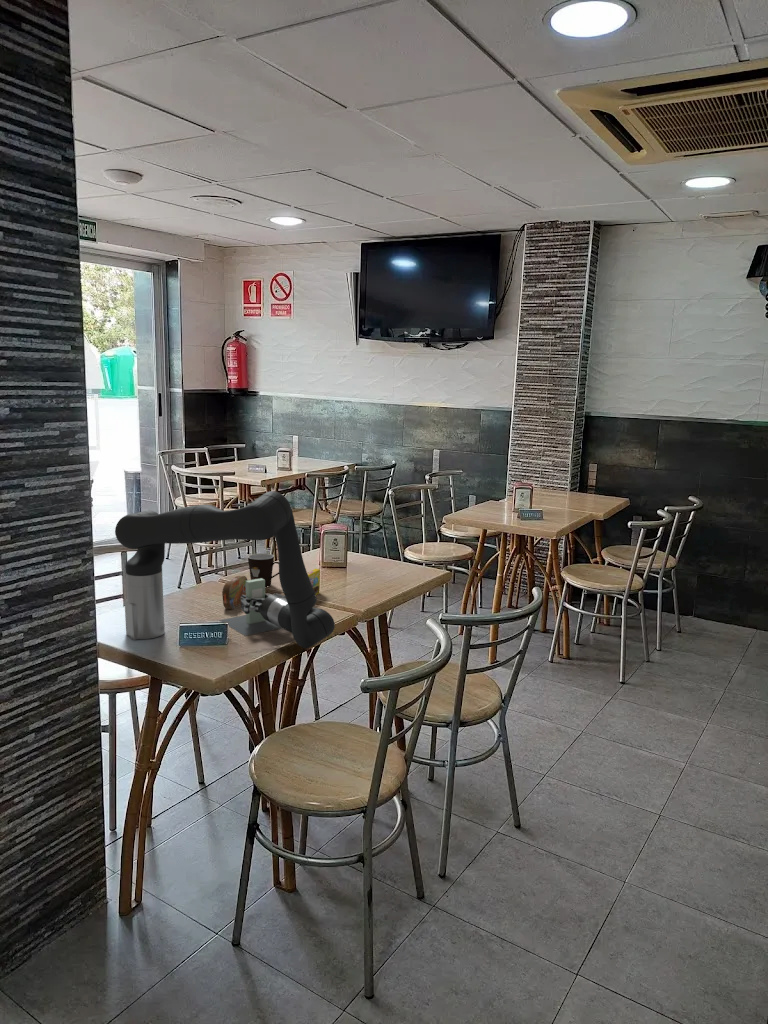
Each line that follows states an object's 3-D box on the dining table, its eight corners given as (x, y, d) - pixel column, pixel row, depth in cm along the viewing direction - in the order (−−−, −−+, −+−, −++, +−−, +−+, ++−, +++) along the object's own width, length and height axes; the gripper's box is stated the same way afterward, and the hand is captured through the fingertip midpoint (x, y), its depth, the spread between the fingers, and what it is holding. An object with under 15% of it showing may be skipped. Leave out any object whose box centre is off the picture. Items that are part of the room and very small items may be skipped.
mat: (244, 638, 194) (244, 635, 194) (219, 622, 207) (219, 620, 207) (327, 620, 210) (327, 618, 210) (298, 606, 222) (298, 604, 222)
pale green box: (249, 624, 204) (248, 582, 202) (246, 622, 205) (245, 580, 203) (265, 620, 207) (265, 579, 205) (262, 618, 208) (261, 578, 206)
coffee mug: (243, 585, 245) (242, 556, 244) (264, 580, 251) (264, 552, 249) (262, 592, 237) (262, 562, 235) (284, 587, 243) (284, 558, 241)
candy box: (298, 607, 222) (298, 580, 221) (292, 606, 223) (291, 580, 221) (320, 593, 237) (320, 568, 236) (314, 592, 238) (314, 567, 237)
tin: (230, 613, 215) (230, 585, 214) (220, 612, 216) (220, 585, 214) (250, 599, 230) (249, 573, 228) (240, 598, 230) (240, 572, 229)
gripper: (303, 593, 197) (273, 580, 211) (256, 602, 189) (227, 587, 202) (304, 620, 199) (273, 605, 212) (256, 630, 190) (228, 613, 203)
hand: (251, 596), depth 207 cm, fingers closed on pale green box, 5 cm apart
